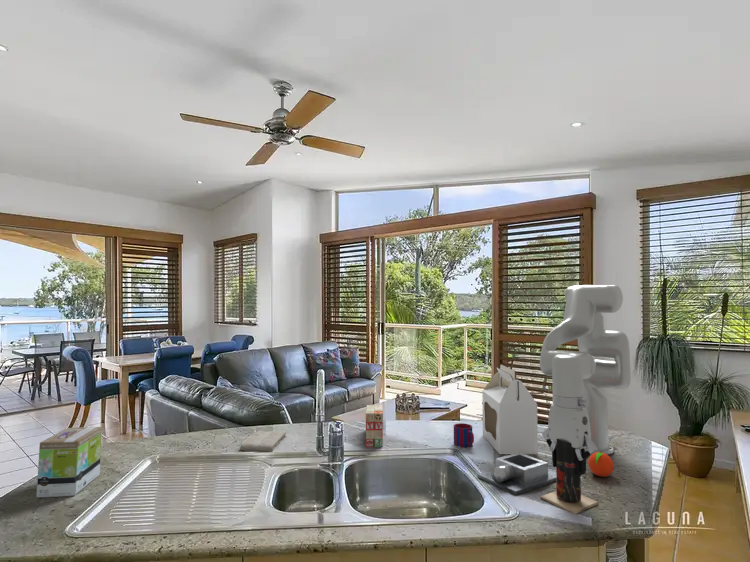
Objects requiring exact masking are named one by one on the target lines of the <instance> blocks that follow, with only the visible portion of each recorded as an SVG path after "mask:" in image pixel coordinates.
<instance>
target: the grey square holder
mask: <svg viewBox="0 0 750 562" xmlns="http://www.w3.org/2000/svg"><path fill="white" fill-rule="evenodd" d="M477 478H478V479H479V480H483V481H484V482H487V483H488V484H490V485H492V486H495V487H498V488H499V489H501V490H504V491H505V492H508V493H510V494H513V495H515V496H517V495H521V494H523V493H526V492H528V491H531V490H535V489H537V488H540V487H543V486H546V485H549V484H552V483H555V482H556V470H555V469H552V468H549V463H548V461H547V462H546V461H544V460H542V459H539V458H536V457H533V456H532V455H531V456H530V455H529V454H522V453H520V452H518V453H514V454H511V455H504V456H501V457H497V458H495V467H493V468H491V469H490V470H488V471H485V472H480V473H478V474H477ZM554 481H555V482H554Z"/></svg>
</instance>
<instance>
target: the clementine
mask: <svg viewBox="0 0 750 562" xmlns="http://www.w3.org/2000/svg"><path fill="white" fill-rule="evenodd" d="M587 463H588V467H589V470H590V471H591V472H592V473H593V474H594V475H595V476H598V477H604V478H605V477H608V476H610V475H611V474H612V473H613V472H614V468H615V463H614V461H613V459H612V458H611V456H610V455H609V454H608V455H607V454H605V453H602V452H595V453H593V454H592V455H591V456H590V457H588V461H587Z"/></svg>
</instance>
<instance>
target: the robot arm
mask: <svg viewBox="0 0 750 562" xmlns="http://www.w3.org/2000/svg"><path fill="white" fill-rule="evenodd" d="M564 291H565V292H564V298H565V306H564V307H565V308H564V312H563V313H564V314H563V320H562V322H561V323H559V324H557V325H556V326H555V327H553V329H551V331H549V332H548V333H547V335H546V336H545V338H544V339H543V342H542V345H541V346H542V347H541V352H540V357H539V368H540V371H541V372H542V373H543V375H545V376H547V377H551V378H552V380H551V382H552V403H551V405H550V406H549V407H550V408H549V413H548V424H547V428H546V429H545V430H544V431H543V432H542V433H541V435H542V437H543V438H544V439H545V442H546V443H547V445H548V447H549V450H550V452H551V459H552V460H551V462H552V467H554V468H556V443H557V439H559V440H562V441H565V442H568V443H571V445H572V447H573V448H575V451H576V454H577V457H578V459H577V460H576V475H578V476H580V475H581V476H583V475H585V474H586V472H587V459H588V460H589V457H590V456H591V455H592V454H593V453H595V452H602V453H605V454H607V455H608V456H609V455H612V454H613V453H614V448H613V446H611V445H610V442H612V441H613V440H614V439H615V437H614V435H613V434H609V402H608V399H607V397H606V395H605V393H604V392H603V391H602V389H601V388H604V389H613V390H614V389H615V390H625V389H628V388H629V386H630V385H631V377H632V376H631V357H630V356H631V353H630V352H631V351H630V341H629V338H628V335H627V334H626V333H625V332H623V331H619V330H605V327H604V316H603V313H604V314H606V313H607V314H609V313H610V314H613V313H616V312H618V311H619V310H620V308H621V307H622V306H623V300H624V299H623V298H624V297H623V291H622V289H621V288H620V287H619V285H617V284H582V285H571V286H568V287H567V288H566V289H565V290H564ZM576 340H577V347H578V351H574V350H562V349H561V350H560V349H559V350H558V349H557V348H558V347H560V346H562V345H564V344H566V343H569V342H572V341H576ZM594 358H598V359H594ZM599 358H603V359H599ZM604 358H605V359H606V360H604ZM607 359H611V360H607Z"/></svg>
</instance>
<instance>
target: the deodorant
mask: <svg viewBox="0 0 750 562" xmlns="http://www.w3.org/2000/svg"><path fill="white" fill-rule="evenodd" d="M577 459H578V457H577V454H576V451H575V448H573V447H572V445H571V443H568V442H565V441H562V440H559V439H557V443H556V467H555V468H556V470H555V471H556V481H555V482H556V490H555V491H556V495H557V497H558V498H560V499H561V500H564V501H568V502H578V501H580V500H581V495H582V475H580V476H578V475H576V460H577Z"/></svg>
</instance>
